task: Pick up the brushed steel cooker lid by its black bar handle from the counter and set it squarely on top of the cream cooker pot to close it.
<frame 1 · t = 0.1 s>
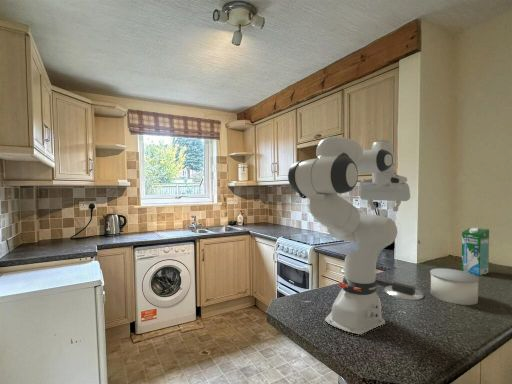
hand: (384, 210, 119), 39 cm above the worktop, tool pointing down, fingers open, 8 cm apart
cooker lid: (403, 293, 126), on the worktop
milk carton: (474, 272, 156), on the worktop
cooker pot: (453, 296, 122), on the worktop
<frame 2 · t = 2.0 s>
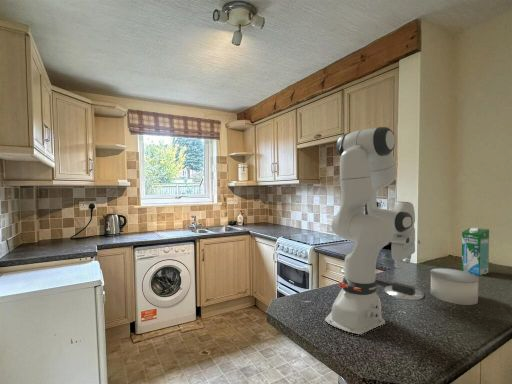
hand: (404, 266, 126), 12 cm above the worktop, tool pointing down, fingers open, 8 cm apart
nothing on the worktop moved.
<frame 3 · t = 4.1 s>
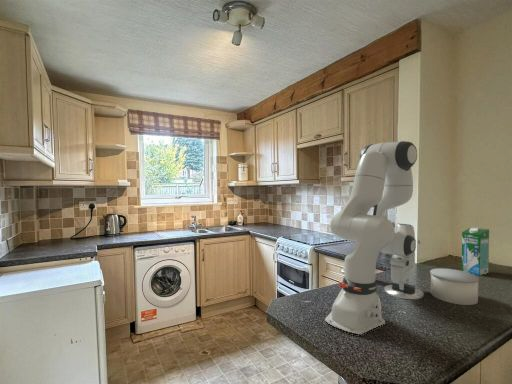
hand: (403, 288, 126), 2 cm above the worktop, tool pointing down, fingers closed on cooker lid, 3 cm apart
cooker lid: (403, 292, 126), on the worktop, touching gripper
everything else where it was.
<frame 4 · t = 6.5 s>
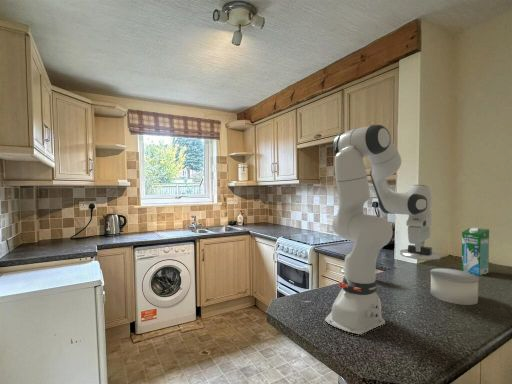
hand: (419, 250, 125), 20 cm above the worktop, tool pointing down, fingers closed on cooker lid, 3 cm apart
cooker lid: (419, 255, 125), point 18 cm above the worktop, touching gripper
everything else where it was.
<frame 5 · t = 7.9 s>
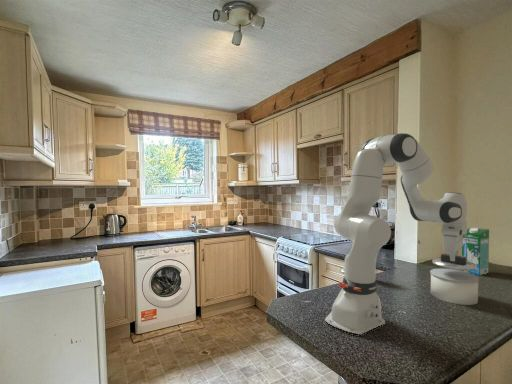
hand: (453, 259, 121), 16 cm above the worktop, tool pointing down, fingers closed on cooker lid, 3 cm apart
cooker lid: (453, 264, 121), point 14 cm above the worktop, touching gripper
everything else where it was.
when the fingers open (13 cm above the worktop, at t = 9.1 s): cooker lid stays where it is, resting on cooker pot.
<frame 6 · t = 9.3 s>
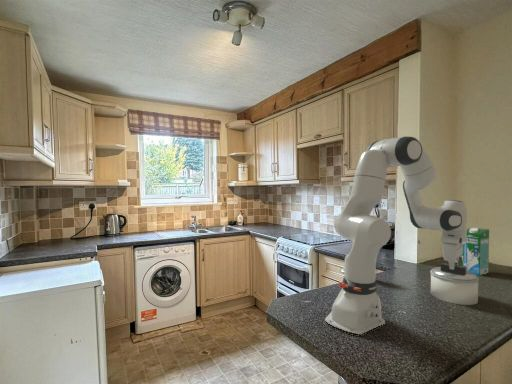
hand: (453, 267, 121), 13 cm above the worktop, tool pointing down, fingers open, 5 cm apart
cooker lid: (453, 274, 121), point 10 cm above the worktop, touching cooker pot
everything else where it was.
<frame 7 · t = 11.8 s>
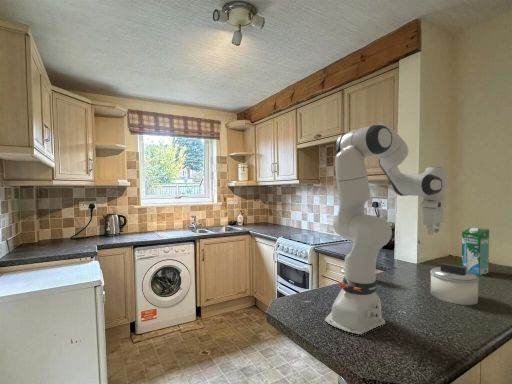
hand: (433, 233, 124), 28 cm above the worktop, tool pointing down, fingers open, 8 cm apart
nothing on the worktop moved.
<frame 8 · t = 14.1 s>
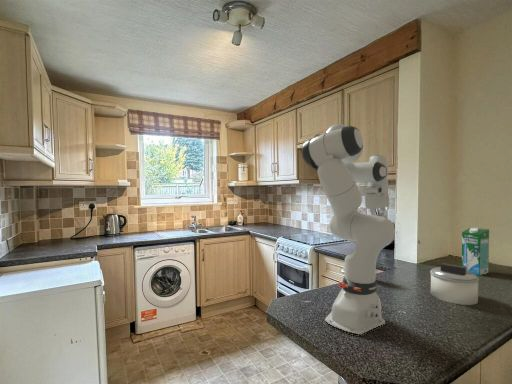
hand: (377, 217, 134), 34 cm above the worktop, tool pointing down, fingers open, 8 cm apart
nothing on the worktop moved.
at the end: cooker lid 0.1 cm off-centre on the cooker pot, point 10.0 cm above the cooker pot's base; cooker lid tilted 0°; the gripper is holding nothing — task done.
